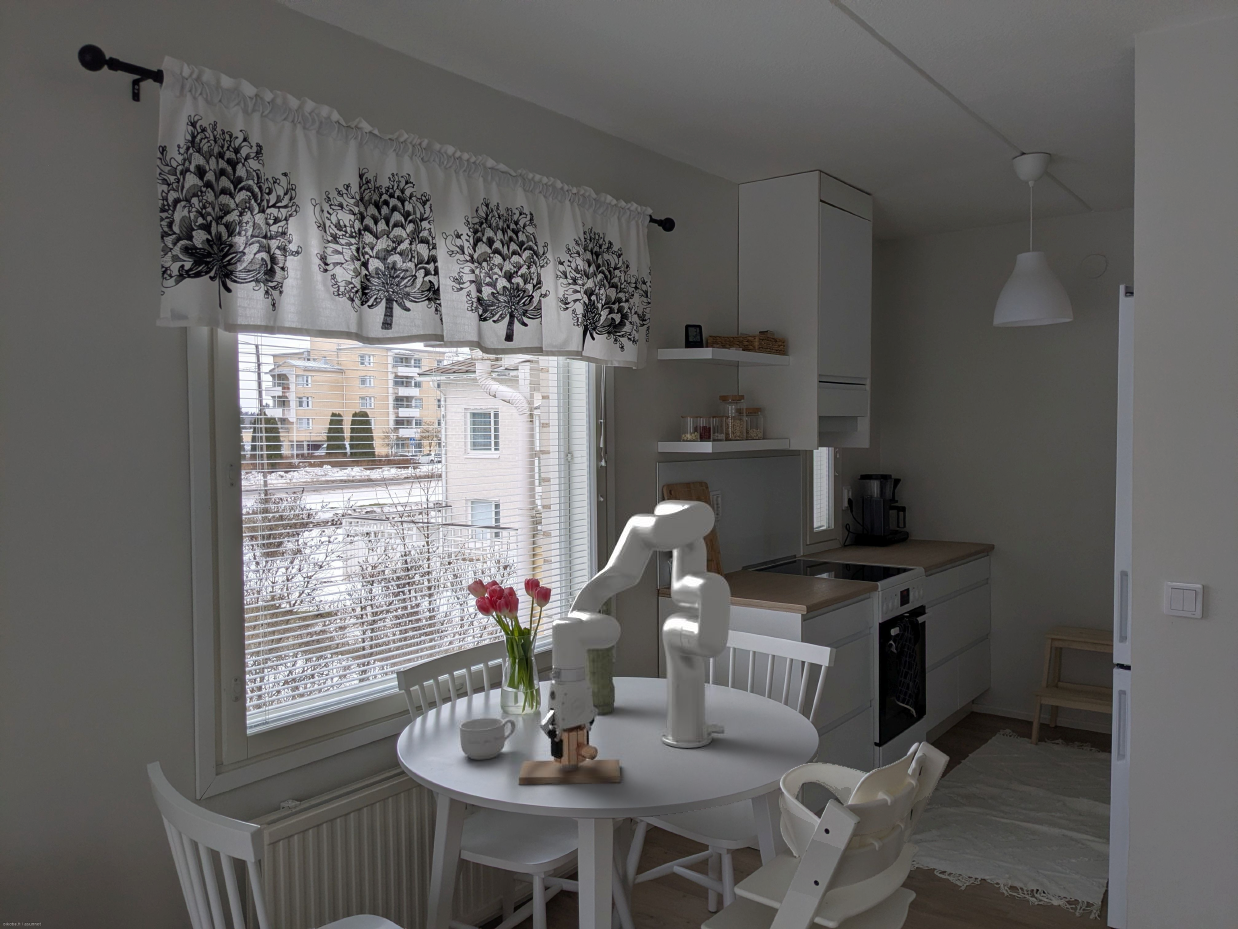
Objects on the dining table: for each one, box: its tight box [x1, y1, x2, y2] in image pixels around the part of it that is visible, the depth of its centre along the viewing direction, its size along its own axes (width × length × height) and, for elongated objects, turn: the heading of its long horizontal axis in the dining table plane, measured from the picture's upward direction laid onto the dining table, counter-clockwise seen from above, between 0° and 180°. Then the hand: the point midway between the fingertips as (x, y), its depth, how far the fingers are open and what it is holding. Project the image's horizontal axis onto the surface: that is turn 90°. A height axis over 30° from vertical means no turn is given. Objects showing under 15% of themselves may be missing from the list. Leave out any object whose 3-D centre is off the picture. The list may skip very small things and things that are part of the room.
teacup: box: [459, 716, 516, 761], centre depth 206 cm, size 14×11×8 cm
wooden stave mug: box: [553, 724, 599, 765], centre depth 191 cm, size 7×11×7 cm, turn 44°
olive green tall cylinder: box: [586, 596, 616, 716], centre depth 240 cm, size 9×12×35 cm
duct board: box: [518, 759, 621, 785], centre depth 192 cm, size 22×10×8 cm, turn 91°
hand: (570, 752), depth 192 cm, fingers closed on wooden stave mug, 7 cm apart
